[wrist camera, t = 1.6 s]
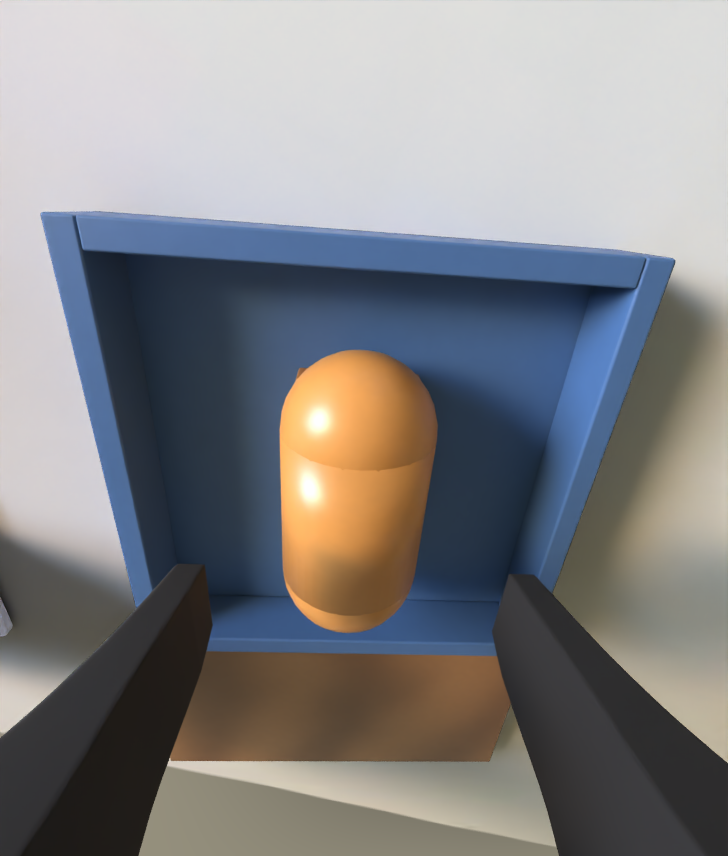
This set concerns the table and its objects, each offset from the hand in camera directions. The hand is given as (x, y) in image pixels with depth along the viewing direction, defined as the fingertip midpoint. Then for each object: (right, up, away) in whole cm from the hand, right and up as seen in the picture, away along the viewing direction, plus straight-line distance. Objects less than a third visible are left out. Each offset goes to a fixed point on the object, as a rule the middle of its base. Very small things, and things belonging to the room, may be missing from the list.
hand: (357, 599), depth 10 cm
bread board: (-1, -10, +13) cm, 16 cm away
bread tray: (0, +3, +6) cm, 7 cm away
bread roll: (0, +3, +6) cm, 6 cm away
